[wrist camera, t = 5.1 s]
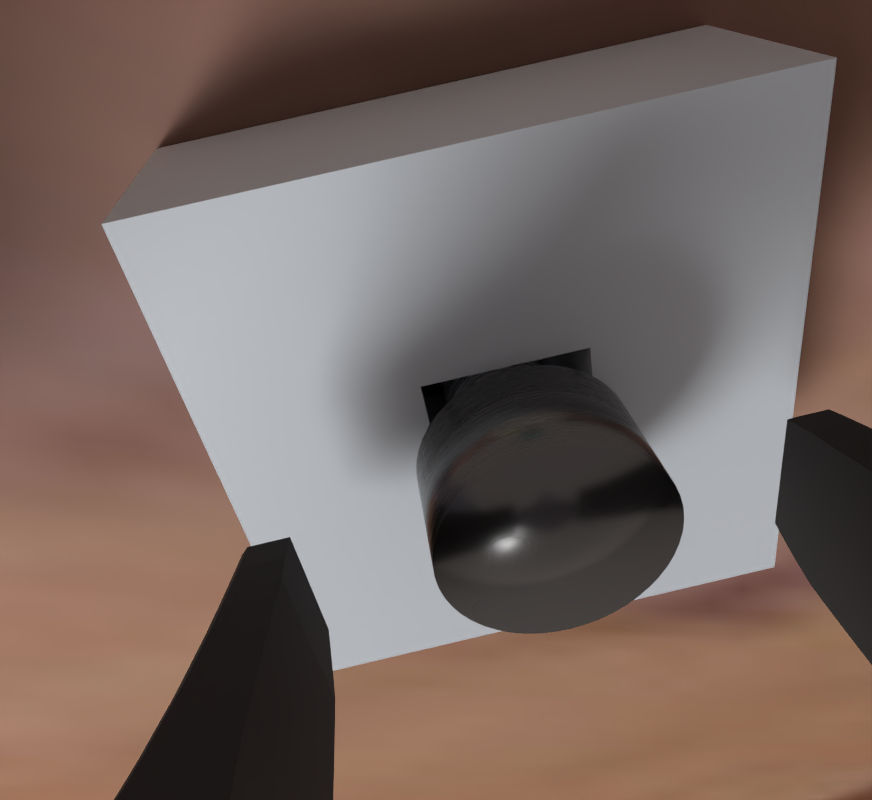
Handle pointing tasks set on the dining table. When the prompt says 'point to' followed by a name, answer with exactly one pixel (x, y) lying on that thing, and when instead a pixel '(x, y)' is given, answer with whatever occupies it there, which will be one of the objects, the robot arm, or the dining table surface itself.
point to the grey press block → (490, 296)
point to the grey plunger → (542, 499)
